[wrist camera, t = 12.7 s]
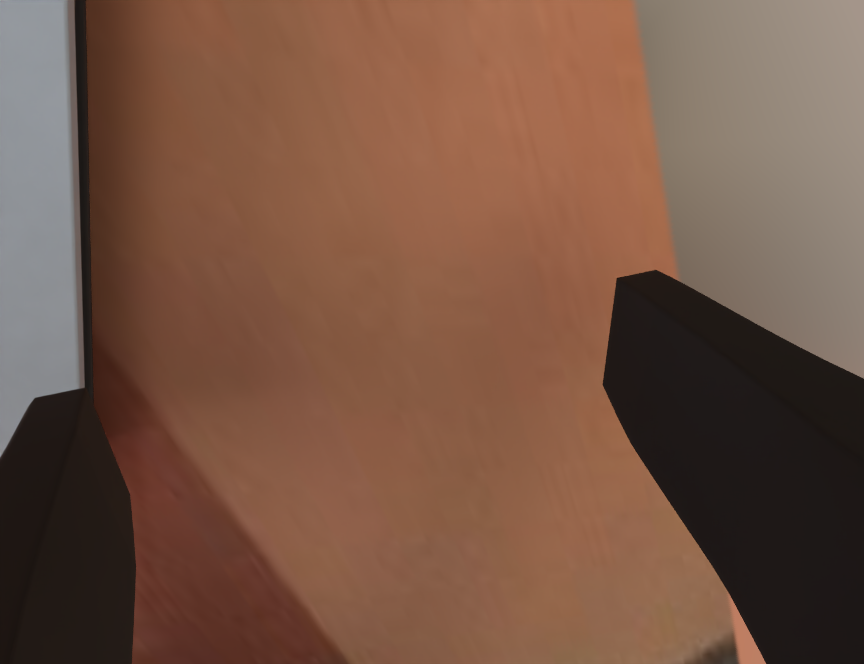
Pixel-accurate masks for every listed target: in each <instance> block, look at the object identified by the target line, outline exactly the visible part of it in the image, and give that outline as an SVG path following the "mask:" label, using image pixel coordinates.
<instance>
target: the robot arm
mask: <svg viewBox="0 0 864 664" xmlns="http://www.w3.org/2000/svg"><path fill="white" fill-rule="evenodd" d="M603 387H604V389H605V391H606V393H607V395H608V397H609V400H610V402H611V404H612V406H613V408H614V410H615V413H616V415H617V417H618V419H619V421H620V423H621V425H622V427H623V429H624V431H625V433H626V435H627V437H628V439H629V441H630V443H631V444H632V446H633V447H634V449H635V451H636V452H637V454H638V455H639V457H640V458H641V460H642V461H643V463H644V464H645V466H646V467H647V469H648V470H649V472H650V474H651V475H652V477H653V478H654V480H655V481H656V483H657V484H658V486H659V487H660V489H661V490H662V492H663V493H664V495H665V496H666V498H667V499H668V501H669V502H670V504H671V505H672V507H673V508H674V510H675V511H676V512H677V514H678V515H679V517H680V518H681V520H682V521H683V523H684V524H685V526H686V527H687V529H688V530H689V532H690V533H691V535H692V536H693V538H694V539H695V541H696V542H697V544H698V545H699V547H700V548H701V550H702V551H703V553H704V554H705V556H706V557H707V559H708V560H709V562H710V563H711V565H712V566H713V568H714V569H715V571H716V573H717V574H718V576H719V578H720V579H721V581H722V582H723V584H724V586H725V587H726V589H727V591H728V592H729V594H730V596H731V598H732V600H733V601H734V603H735V605H736V607H737V609H738V611H739V613H740V615H741V617H742V618H743V620H744V622H745V624H746V626H747V628H748V630H749V632H750V634H751V635H752V637H753V639H754V641H755V643H756V645H757V647H758V649H759V650H760V652H761V654H762V656H763V658H764V660H765V662H766V664H864V379H863V378H861V377H859V376H857V375H855V374H853V373H851V372H849V371H846V370H845V369H842V368H840V367H838V366H836V365H834V364H832V363H830V362H828V361H826V360H823V359H821V358H820V357H818V356H816V355H814V354H812V353H810V352H808V351H806V350H804V349H802V348H800V347H798V346H796V345H794V344H792V343H791V342H789V341H787V340H785V339H783V338H781V337H779V336H777V335H775V334H774V333H772V332H770V331H768V330H766V329H764V328H763V327H761V326H759V325H757V324H755V323H753V322H752V321H750V320H748V319H746V318H744V317H743V316H741V315H739V314H737V313H735V312H734V311H732V310H730V309H728V308H726V307H725V306H723V305H721V304H719V303H717V302H716V301H714V300H712V299H710V298H708V297H707V296H705V295H703V294H701V293H699V292H698V291H696V290H694V289H692V288H690V287H688V286H687V285H685V284H683V283H681V282H679V281H677V280H675V279H673V278H672V277H670V276H668V275H665V274H663V273H661V272H659V271H657V270H654V271H649V272H644V273H639V274H634V275H629V276H625V277H620V278H617V281H616V289H615V296H614V304H613V311H612V319H611V326H610V334H609V341H608V349H607V356H606V364H605V371H604V379H603ZM135 578H136V561H135V547H134V533H133V522H132V511H131V499H130V493H129V491H128V488H127V486H126V484H125V481H124V479H123V476H122V474H121V471H120V469H119V466H118V464H117V462H116V459H115V457H114V454H113V452H112V449H111V447H110V444H109V442H108V440H107V437H106V435H105V432H104V430H103V427H102V425H101V422H100V420H99V417H98V415H97V413H96V410H95V408H94V405H93V403H92V400H91V398H90V395H89V393H88V391H87V388H86V387H85V388H80V389H75V390H70V391H65V392H60V393H56V394H51V395H46V396H41V397H36V398H34V399H33V401H32V402H31V403H30V405H29V406H28V408H27V410H26V411H25V413H24V415H23V417H22V419H21V421H20V422H19V424H18V426H17V428H16V430H15V432H14V434H13V435H12V437H11V439H10V441H9V443H8V445H7V446H6V448H5V450H4V452H3V454H2V455H1V457H0V664H132V646H133V625H134V602H135Z"/></svg>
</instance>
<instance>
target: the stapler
mask: <svg viewBox="0 0 864 664" xmlns="http://www.w3.org/2000/svg"><path fill="white" fill-rule="evenodd" d="M85 387H86V388H87V391H88V393H89V395H90V398H91V400H92V403H93V405H94V399H93V348H92V297H91V245H90V194H89V143H88V91H87V40H86V0H0V457H1V455H2V454H3V452H4V450H5V448H6V446H7V445H8V443H9V441H10V439H11V437H12V435H13V434H14V432H15V430H16V428H17V426H18V424H19V422H20V421H21V419H22V417H23V415H24V413H25V411H26V410H27V408H28V406H29V405H30V403H31V402H32V401H33V399H34V398H36V397H41V396H46V395H51V394H56V393H60V392H65V391H70V390H75V389H80V388H85Z"/></svg>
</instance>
